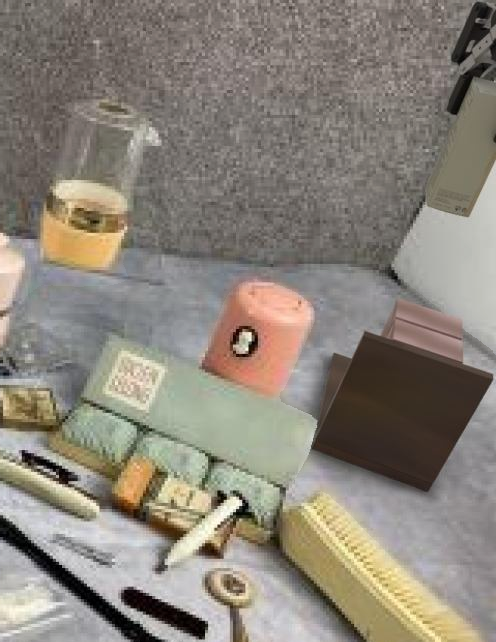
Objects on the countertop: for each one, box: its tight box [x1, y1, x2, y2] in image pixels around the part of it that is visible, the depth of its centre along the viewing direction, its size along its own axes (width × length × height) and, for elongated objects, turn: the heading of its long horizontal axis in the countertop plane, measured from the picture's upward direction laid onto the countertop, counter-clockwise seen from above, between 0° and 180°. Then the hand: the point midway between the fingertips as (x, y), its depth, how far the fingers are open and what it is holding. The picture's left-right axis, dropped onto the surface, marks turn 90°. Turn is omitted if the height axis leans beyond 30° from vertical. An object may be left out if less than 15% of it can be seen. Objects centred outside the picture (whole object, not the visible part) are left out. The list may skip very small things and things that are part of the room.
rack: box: [311, 297, 494, 492], centre depth 91 cm, size 18×11×13 cm, turn 158°
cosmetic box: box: [424, 77, 496, 218], centre depth 94 cm, size 6×4×12 cm
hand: (478, 128), depth 93 cm, fingers closed on cosmetic box, 7 cm apart
